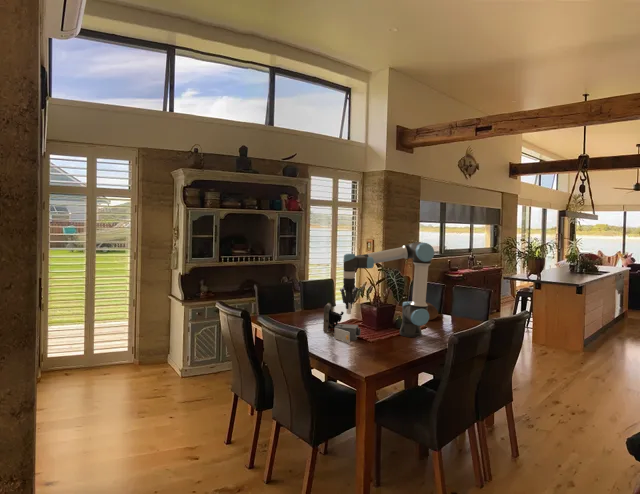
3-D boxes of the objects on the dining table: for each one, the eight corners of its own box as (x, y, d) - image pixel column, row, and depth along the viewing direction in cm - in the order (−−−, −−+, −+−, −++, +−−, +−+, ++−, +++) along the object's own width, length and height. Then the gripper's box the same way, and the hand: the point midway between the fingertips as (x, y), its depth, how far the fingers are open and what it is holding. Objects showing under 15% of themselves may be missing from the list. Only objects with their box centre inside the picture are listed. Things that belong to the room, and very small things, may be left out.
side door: (349, 342, 273) (350, 331, 273) (347, 343, 272) (347, 332, 272) (335, 338, 284) (335, 327, 284) (333, 338, 283) (333, 328, 282)
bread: (441, 321, 336) (441, 304, 335) (407, 320, 336) (407, 304, 336) (433, 313, 362) (433, 298, 361) (401, 313, 362) (401, 298, 362)
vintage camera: (344, 334, 296) (346, 306, 294) (322, 332, 299) (324, 304, 298) (346, 331, 305) (347, 304, 304) (325, 329, 308) (326, 302, 307)
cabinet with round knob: (360, 337, 289) (361, 324, 288) (358, 340, 280) (358, 327, 279) (337, 335, 293) (337, 322, 292) (334, 338, 284) (335, 325, 284)
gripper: (354, 276, 282) (353, 311, 283) (337, 277, 275) (337, 313, 276) (361, 277, 275) (360, 313, 277) (343, 279, 268) (343, 316, 270)
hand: (348, 313), depth 277 cm, fingers closed
